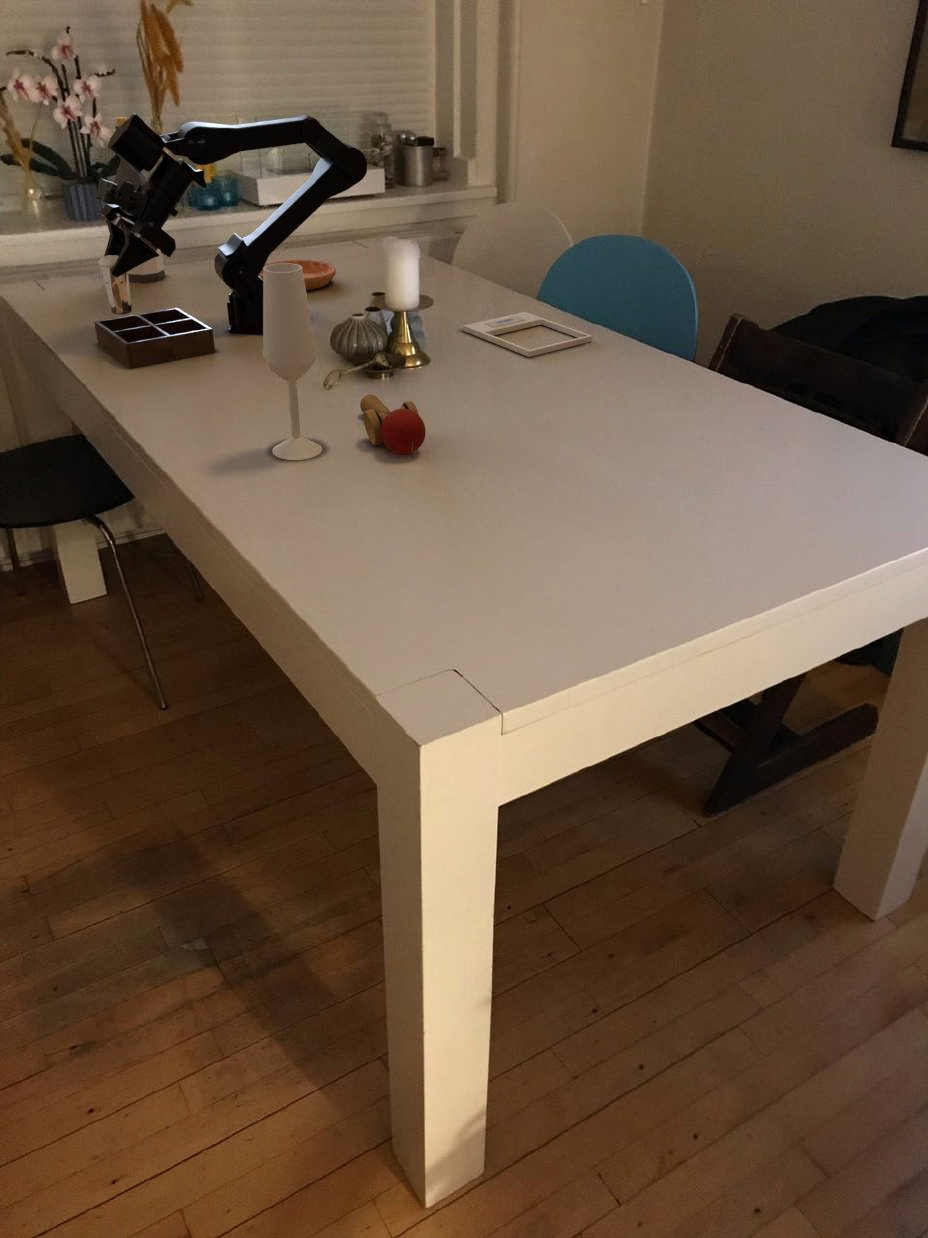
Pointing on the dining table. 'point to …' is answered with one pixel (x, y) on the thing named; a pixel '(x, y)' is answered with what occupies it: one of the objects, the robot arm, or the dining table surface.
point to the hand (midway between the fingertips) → (108, 272)
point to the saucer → (312, 272)
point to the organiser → (154, 337)
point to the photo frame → (519, 322)
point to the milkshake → (115, 286)
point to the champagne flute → (288, 345)
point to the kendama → (393, 425)
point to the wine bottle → (154, 266)
